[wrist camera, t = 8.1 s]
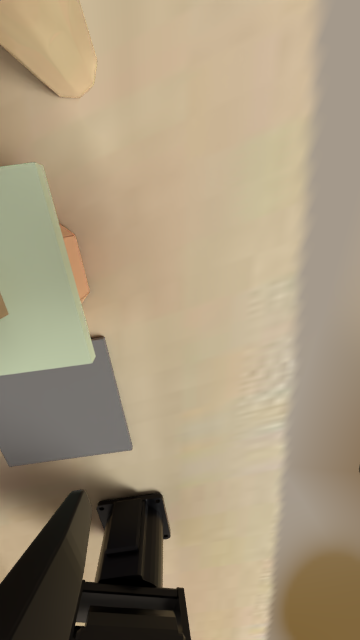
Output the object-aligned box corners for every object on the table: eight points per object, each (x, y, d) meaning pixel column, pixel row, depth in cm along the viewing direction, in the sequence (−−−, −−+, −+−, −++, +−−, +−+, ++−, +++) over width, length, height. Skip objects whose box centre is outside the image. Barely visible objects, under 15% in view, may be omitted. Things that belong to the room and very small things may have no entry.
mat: (132, 446, 23) (131, 450, 23) (11, 462, 23) (9, 466, 23) (104, 336, 19) (103, 339, 19) (-42, 356, 19) (-46, 359, 19)
